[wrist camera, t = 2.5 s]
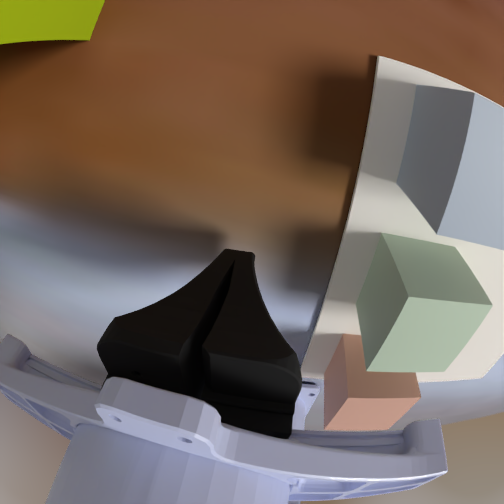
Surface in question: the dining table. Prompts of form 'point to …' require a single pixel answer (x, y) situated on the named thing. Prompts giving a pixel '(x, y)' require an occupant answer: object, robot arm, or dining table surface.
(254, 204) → the dining table surface
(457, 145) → the slate block
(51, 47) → the dining table surface
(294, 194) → the dining table surface
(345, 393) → the terracotta block
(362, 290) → the sage block
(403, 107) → the mat
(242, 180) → the dining table surface
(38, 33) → the puzzle toy
